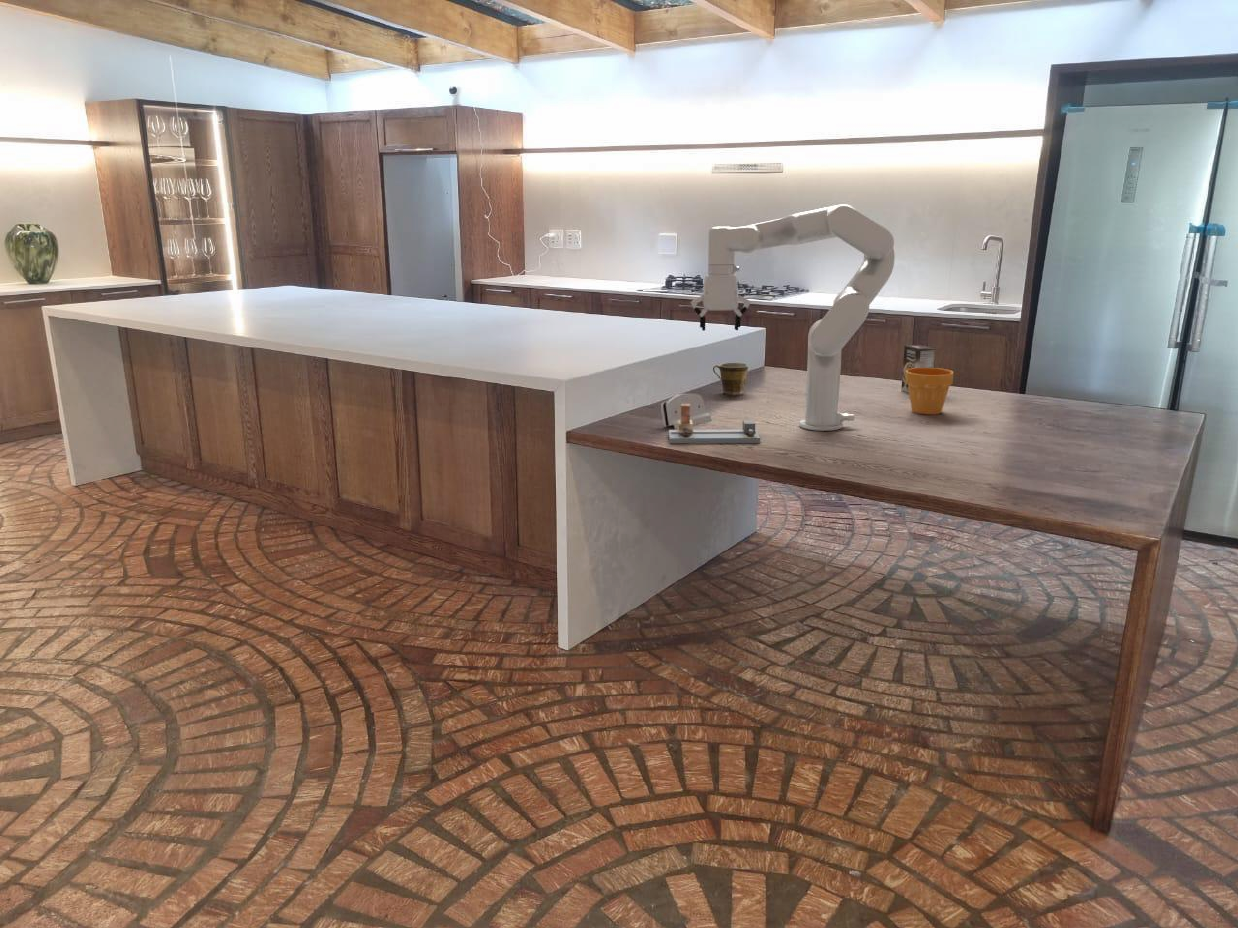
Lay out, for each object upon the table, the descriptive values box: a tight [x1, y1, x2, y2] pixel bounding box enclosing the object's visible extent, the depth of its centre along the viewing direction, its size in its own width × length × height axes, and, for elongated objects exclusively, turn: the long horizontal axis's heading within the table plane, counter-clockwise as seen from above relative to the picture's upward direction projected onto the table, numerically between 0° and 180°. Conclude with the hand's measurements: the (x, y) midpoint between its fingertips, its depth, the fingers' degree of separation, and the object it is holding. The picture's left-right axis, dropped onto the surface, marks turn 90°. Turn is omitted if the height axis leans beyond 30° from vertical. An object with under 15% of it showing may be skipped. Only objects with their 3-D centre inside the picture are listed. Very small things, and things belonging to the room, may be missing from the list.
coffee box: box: [900, 344, 936, 394], centre depth 310 cm, size 9×6×16 cm
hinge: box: [660, 393, 712, 430], centre depth 271 cm, size 17×5×10 cm, turn 133°
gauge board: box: [668, 419, 761, 444], centre depth 251 cm, size 25×10×5 cm, turn 89°
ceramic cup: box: [712, 362, 749, 396], centre depth 314 cm, size 13×10×10 cm
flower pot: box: [905, 367, 954, 415], centre depth 281 cm, size 14×14×13 cm
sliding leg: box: [677, 404, 694, 436], centre depth 250 cm, size 4×8×8 cm, turn 179°
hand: (720, 329), depth 263 cm, fingers open, 9 cm apart
